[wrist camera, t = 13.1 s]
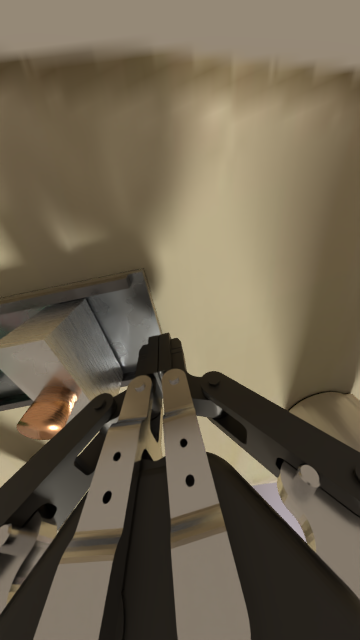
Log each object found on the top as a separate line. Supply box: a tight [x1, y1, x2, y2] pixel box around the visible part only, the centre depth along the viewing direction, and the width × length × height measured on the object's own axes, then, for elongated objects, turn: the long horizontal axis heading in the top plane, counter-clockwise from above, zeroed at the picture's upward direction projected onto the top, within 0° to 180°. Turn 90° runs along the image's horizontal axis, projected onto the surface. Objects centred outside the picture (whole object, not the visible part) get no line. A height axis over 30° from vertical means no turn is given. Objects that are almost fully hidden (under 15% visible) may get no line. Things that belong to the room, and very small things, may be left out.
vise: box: [0, 268, 162, 411], centre depth 13 cm, size 24×10×6 cm, turn 100°
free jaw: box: [0, 299, 124, 440], centre depth 11 cm, size 3×8×7 cm, turn 10°
